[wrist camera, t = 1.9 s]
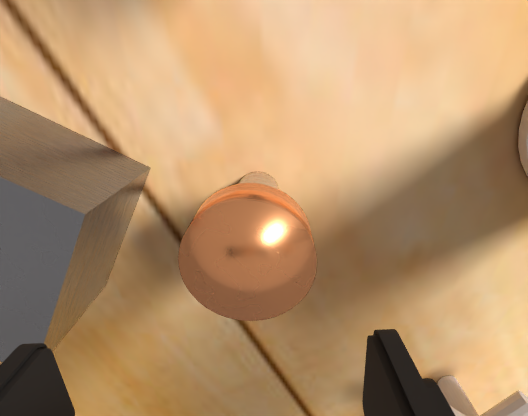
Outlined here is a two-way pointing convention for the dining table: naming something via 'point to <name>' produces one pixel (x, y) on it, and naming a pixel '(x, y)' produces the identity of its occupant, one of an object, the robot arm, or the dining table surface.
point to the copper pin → (249, 251)
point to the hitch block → (56, 224)
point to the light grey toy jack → (506, 412)
